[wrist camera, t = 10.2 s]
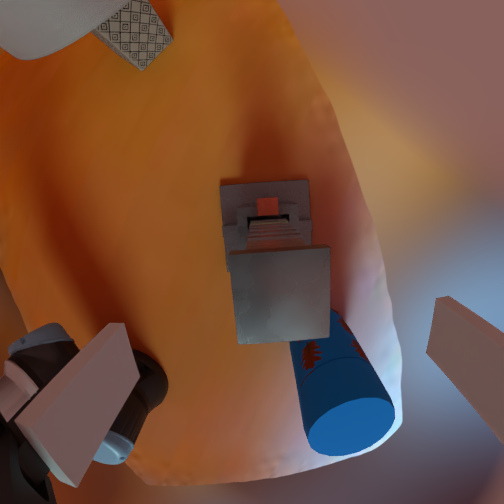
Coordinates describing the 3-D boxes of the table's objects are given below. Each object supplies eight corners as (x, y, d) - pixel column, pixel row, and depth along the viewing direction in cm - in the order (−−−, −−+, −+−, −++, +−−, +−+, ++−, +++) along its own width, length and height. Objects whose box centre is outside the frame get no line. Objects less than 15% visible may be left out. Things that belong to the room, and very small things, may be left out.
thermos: (317, 293, 49) (363, 380, 24) (356, 326, 50) (411, 415, 25) (275, 335, 50) (285, 439, 26) (315, 365, 52) (343, 464, 27)
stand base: (228, 270, 48) (217, 298, 35) (220, 186, 45) (205, 184, 32) (311, 264, 47) (328, 290, 35) (307, 180, 45) (325, 176, 32)
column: (250, 254, 38) (238, 344, 16) (247, 215, 37) (228, 254, 15) (289, 251, 38) (329, 337, 15) (287, 212, 37) (330, 247, 14)
